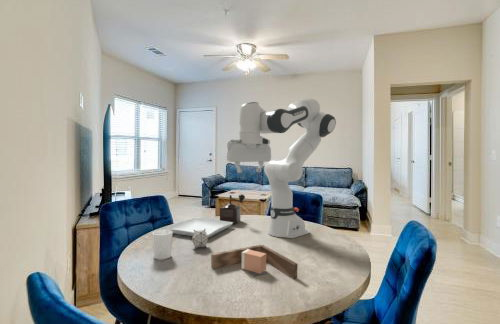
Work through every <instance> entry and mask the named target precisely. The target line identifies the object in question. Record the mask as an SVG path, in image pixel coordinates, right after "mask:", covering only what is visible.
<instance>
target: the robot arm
mask: <svg viewBox="0 0 500 324" xmlns="http://www.w3.org/2000/svg"><path fill="white" fill-rule="evenodd" d="M320 106H321V105H320V103H319V102H318V100H316V99H314V98H303V99H299V100H296V101H293V102H292V103H290V104H289V105H288V106H287V109H285V108H278V109H274V110H265V109H264V108H262V107H261V106H260V103H259V102H257V101H251V102H250V101H249V102H245V103H243V104H241V107H240V110H239V125H240V129H239V134H238V135H239V139H230V140H228V142H227V143H226V144H227V153H226V161H227V162H228V163H234V166H235V168H236V172H237V174H242V173H243V168H241V167H240V164H241V163H254V162H255V163H258V166H257V167H256V168H255V169H256V170H255V171H256V173H261V172H262V168H263V166H264V168H263V171H264V174H265V176H266V177H267V179H268V183H269V187H270V191H271V192H270V194H271V205H270V210H269V211H270V212H269V213H270V222H269V227H268V231H267V234H268V235H269V236H273V237H277V238H287V239H294V238H295V239H296V238H298V237H302V236H305V235H308V234H310V233H311V232H310V230H309V229H308V228H306V223H305V221H304V220H303V218H301V217H300V216H299V215H297V214H296V212H297V213H298V212H299V210H300V209H299V208H298V207H294V206H293V195H294V193H293V191H292V189H291V188H290V186H289V183H292V182H297V181H299V180H300V179H301V178H302V176H303V171H304V169H303V166H304V164H305V162H306V161H307V160H308V159H309V157H310V156H311V155H312V154H313V153H314V152H315V151H316V150H317V148H318V147H319V145H320V143H321V141H322V138H325V137H326V136H328V135H330V134H331V133H332V132H333V131H334V130H335V128H336V125H337V121H336V118H335V116H333V115H332V114H330V113H325V112H323V111H321V107H320ZM295 124H297V125H298V126H299V127H301V128H303V129H306V131H305V132H304V133H303V134H301V136H299V137H298V139H297V140H296V141H294V142H293V144H292V145H290V147H289V148H288V150H287V152H288V153H287V156H285V158H283V159H272V149H271V141H270V139H268V138H266V137H264V136H261V134H265V135H266V134H284V133H286V132H287V131H288V130H290V128H291V127H292V126H293V125H295ZM265 162H266V163H265ZM264 163H265V164H264Z"/></svg>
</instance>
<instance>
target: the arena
mask: <svg viewBox="0 0 500 324" xmlns="http://www.w3.org/2000/svg"><path fill="white" fill-rule="evenodd" d="M247 249H249V250H253V251H258V252H262V253H266V264H269V265H270V266H272V267H274V269H275V268H276V269H277V270H278V271H280V272H282V273H283V274H285V275H287V276H288V277H289V278H291V279H292V280H295V279H298V263H297V262H296V261H293V260H292V259H290V258H288V257H286V256H284V255H282V254H281V253H279V252H277V251H276V250H274V249H271V248H270V247H268V246H266V245H265V244H257V245H252V246H246V247H242V248H236V249H231V250H225V251H219V252H215V253H213V252H212V253H210V256H211V257H210V258H211V259H210V260H211V261H210V264H211V265H210V266H211V269H217V268H219V269H220V268H222V267H229V266H232V265H237V264H242V252H243V251H245V250H247ZM245 271H246V272H247V273H249V274H250V275H251V276H253V277H258V276H261V275H262V276H263V275H266V274H267V272H266V270H265V271H264V272H262V273H261V274H259V273H255V272H252V271H248V270H245Z"/></svg>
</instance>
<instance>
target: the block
mask: <svg viewBox="0 0 500 324" xmlns="http://www.w3.org/2000/svg"><path fill="white" fill-rule="evenodd" d="M241 270H245V271H246V270H248V271H252V272H255V273H259V274H261V273H262V272H264V271H265V272H266V271H267V262H266V253H262V252H258V251H253V250H249V249H247V250H245V251H243V252H242V263H241ZM248 271H247V272H248Z"/></svg>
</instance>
